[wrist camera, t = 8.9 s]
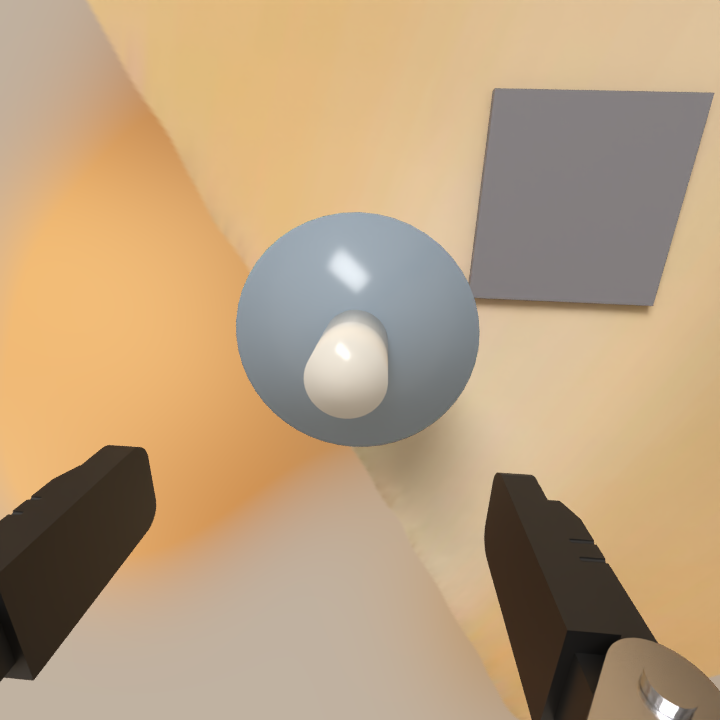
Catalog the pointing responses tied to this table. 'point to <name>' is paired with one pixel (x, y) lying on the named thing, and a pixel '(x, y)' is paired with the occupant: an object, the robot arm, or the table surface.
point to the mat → (582, 193)
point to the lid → (357, 329)
